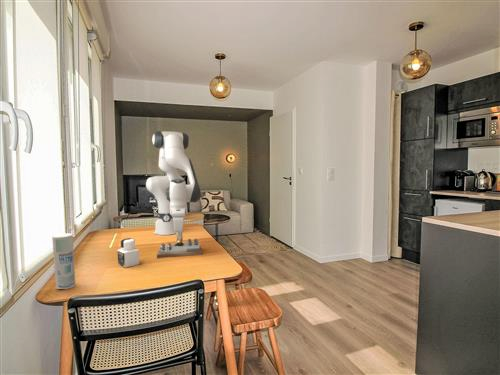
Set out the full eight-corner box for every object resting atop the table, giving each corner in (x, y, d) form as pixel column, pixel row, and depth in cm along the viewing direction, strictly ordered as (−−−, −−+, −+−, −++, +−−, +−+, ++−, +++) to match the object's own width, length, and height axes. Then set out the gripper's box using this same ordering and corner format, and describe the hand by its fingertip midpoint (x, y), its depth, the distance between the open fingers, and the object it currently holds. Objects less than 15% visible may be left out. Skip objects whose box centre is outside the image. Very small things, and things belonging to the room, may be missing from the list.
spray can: (58, 291, 107) (55, 238, 106) (53, 287, 112) (49, 235, 110) (78, 286, 112) (75, 234, 111) (72, 281, 117) (69, 232, 115)
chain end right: (173, 248, 156) (172, 239, 155) (198, 247, 159) (198, 238, 158) (172, 252, 149) (172, 243, 149) (199, 250, 152) (199, 241, 151)
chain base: (158, 251, 156) (158, 248, 156) (200, 248, 161) (200, 246, 161) (156, 258, 145) (156, 255, 145) (201, 254, 150) (201, 251, 150)
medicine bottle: (117, 264, 136) (116, 239, 135) (132, 260, 142) (131, 236, 141) (124, 268, 132) (123, 242, 131) (139, 264, 137) (138, 239, 136)
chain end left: (160, 249, 154) (160, 243, 154) (186, 248, 157) (186, 241, 157) (159, 253, 148) (159, 246, 147) (186, 251, 150) (186, 245, 150)
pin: (177, 246, 154) (176, 227, 153) (182, 245, 155) (182, 226, 154) (176, 247, 151) (176, 228, 150) (182, 247, 152) (182, 228, 151)
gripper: (173, 208, 161) (174, 233, 162) (171, 214, 141) (172, 242, 142) (184, 207, 162) (185, 232, 163) (185, 213, 142) (185, 241, 143)
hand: (179, 237), depth 152 cm, fingers closed on pin, 3 cm apart
